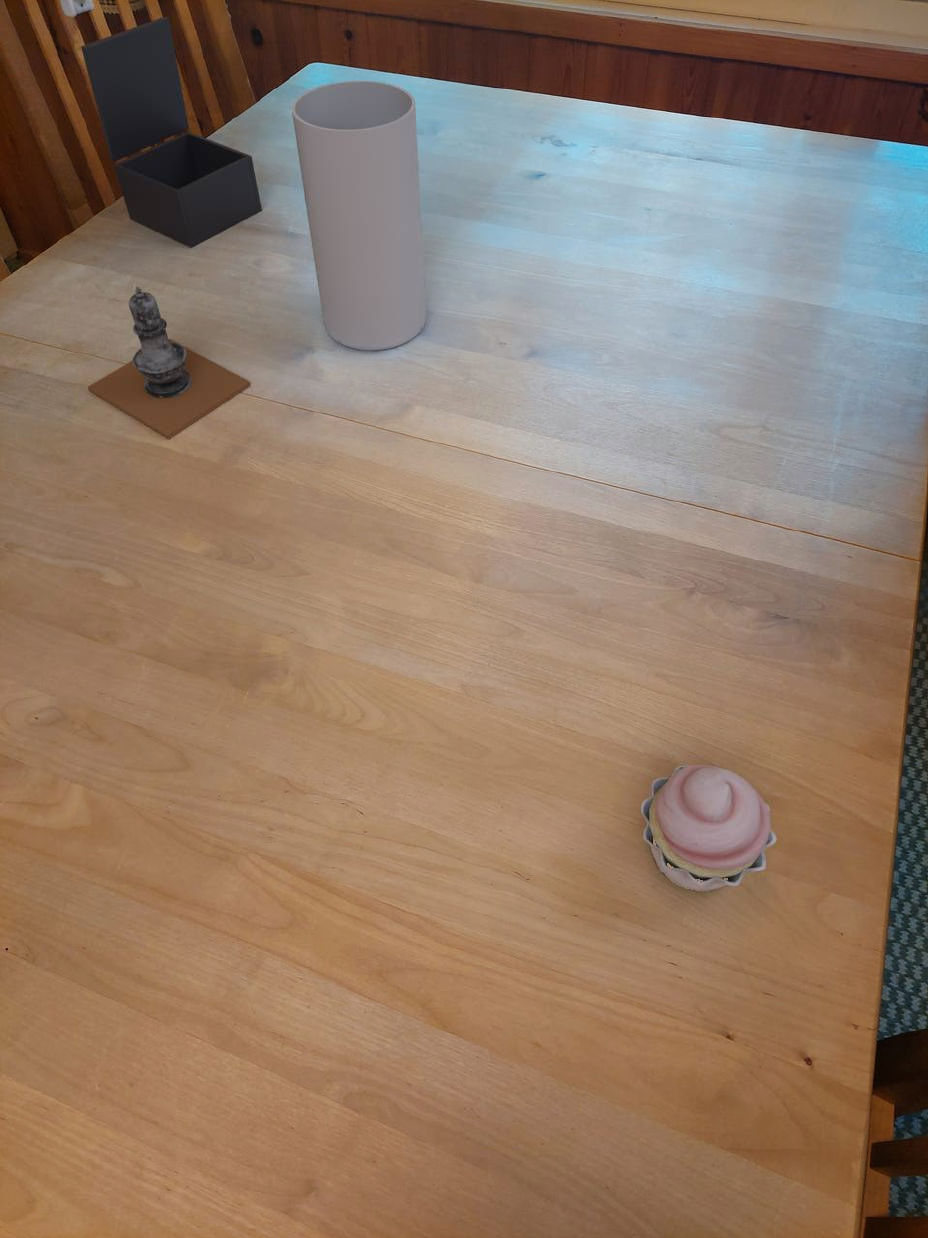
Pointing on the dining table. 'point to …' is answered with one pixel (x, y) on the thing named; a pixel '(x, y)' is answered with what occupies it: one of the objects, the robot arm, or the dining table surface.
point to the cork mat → (174, 412)
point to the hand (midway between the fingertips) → (79, 12)
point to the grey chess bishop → (157, 350)
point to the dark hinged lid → (136, 87)
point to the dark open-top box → (189, 188)
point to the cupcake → (707, 827)
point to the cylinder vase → (363, 210)
